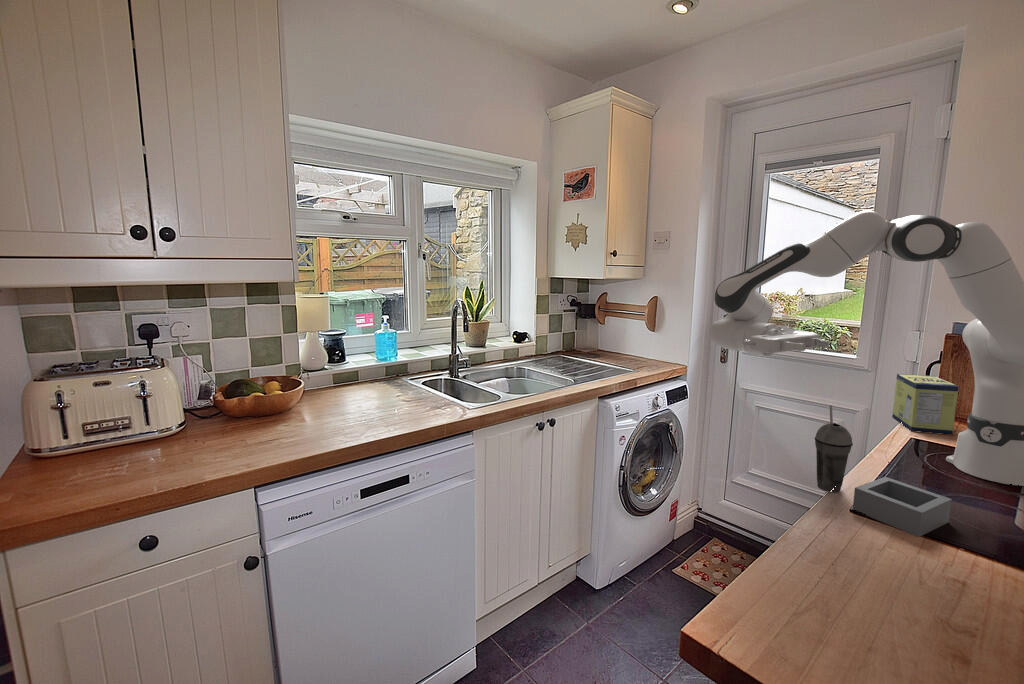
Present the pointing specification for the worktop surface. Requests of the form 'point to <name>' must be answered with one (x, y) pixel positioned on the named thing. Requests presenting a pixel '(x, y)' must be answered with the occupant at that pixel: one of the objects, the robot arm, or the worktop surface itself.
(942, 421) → the protein box
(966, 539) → the worktop surface
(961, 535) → the worktop surface
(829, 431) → the beverage cup
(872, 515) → the holder block
